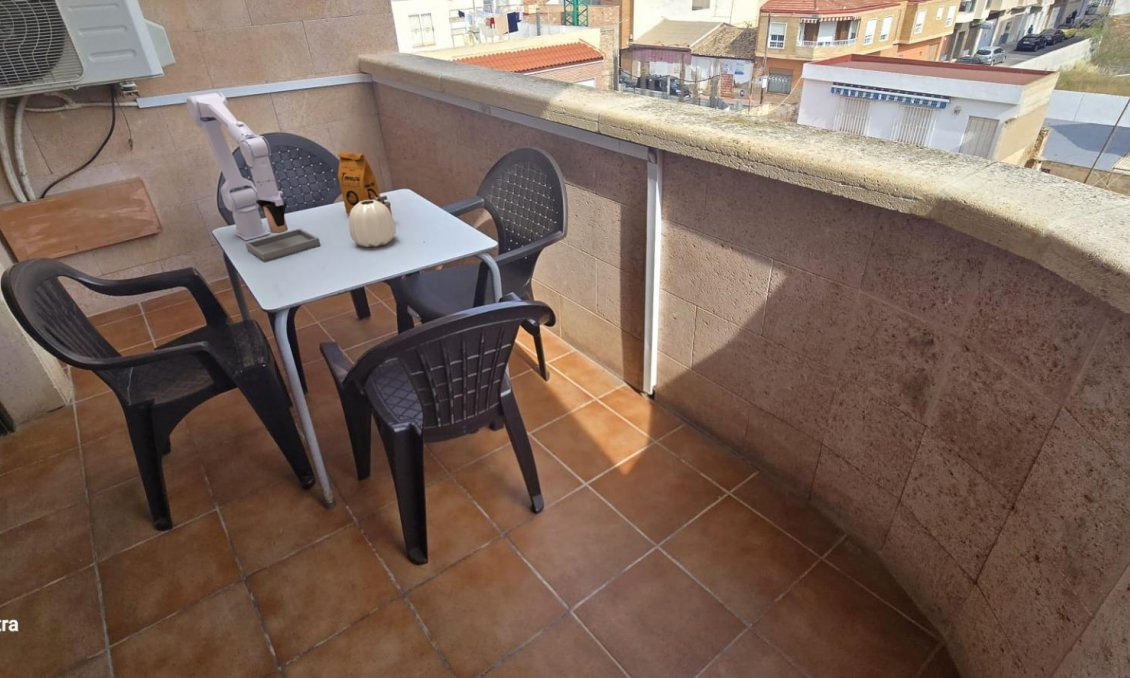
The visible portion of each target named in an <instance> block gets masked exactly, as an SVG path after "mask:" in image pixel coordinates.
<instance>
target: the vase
mask: <svg viewBox="0 0 1130 678" xmlns="http://www.w3.org/2000/svg"><path fill="white" fill-rule="evenodd" d="M348 228H349V229H348V231H349V235H350V238H351V240H352V241H354V242H355V243H356V244H358V245H359V246H361V247H366V248H371V247H376V248H377V247H379V246H386V244H387V243H390V242H391V241H392V240H393V238H394V237H395V235H396V232H397V231H396V224H395V220H394V217H393V214H392V215H391V213H390V211H389V209H388V208H387V207H386V206H385V205H384V204H382V203H380V202H378V201H376V200H364V201H361V202H359V203H358V204H356V205H355V206H354V207H353V208H352V209H351V212H350V214H349V216H348Z"/></svg>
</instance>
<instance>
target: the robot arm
mask: <svg viewBox="0 0 1130 678" xmlns="http://www.w3.org/2000/svg"><path fill="white" fill-rule="evenodd" d="M185 102H186V108H187V111H188V112H189V114H190V117H191V120H192V122H193V123H194V126H196V127H198V128H201V129H202V131H203V133H204V135H205V137H206V139H207V141H208V144H209V146H210V149H211V150H212V153H213V156H214V157H215V159H216V163H217V164H218V167H219V169H220V171H221V173H222V175H223V177H224V179H225V181H224V183H223V184H222V186H221V188H220V194H221V197H222V201H223V205H224V206H225V208H226V209H227V210H228V211H229V212H232V219H233V221H234V224H235V226H236V232H235V233H234V235H236V236H238V237H239V238H241V239H243V240H244V241H250V240H253V239H256V238H257V239H258V238H262V237H264V236H267V235H270V234H271V232H269V231H268V230H265V228H264V225H263V221H262V218H261V215H260V211H259V208H260V209H261V210H262V211H263V213H264V214H265V212H264V208H263V206H264V205H265V207H266V208H267V209H268V210H269V212H270V213H271V215H272V217H273V219H274V221H275V223H276V225H277V226H278V227H279V226H283V225H285V221H286V217H285V212H286V207H287V202H285V201H283V199H282V197H281V196H282V195H284V192H283V191H282V190H279V189H278V185H277V182H276V179H275V175H274V170H273V168H272V165H271V161H270V157H271V154H272V153H271V151H272V150H271V147H270V143H269V142H268V140H267V138H265V137H264V136H263V135H259V134H255V132H253V130H252V129H251V128H249V126H248V125H247V124H246V123H245V122H243V121H239V120H238V119H237V118H236V117H235V115H233V113H232V112H231V111H230V106H229V103H228V100H227V98H226V96H225V95H224V94H223V93H221V92H220V91H218V92H214V93H206V94H199V95H198V94H197V95H187V97H186V100H185ZM222 125H223V127H225V128H226V129H227V130H226V131H227V134H228V136H229V137H230V138H231V139H232V140H233V142H234V143H236V145H237V146H238V147H239V148H240V152H241V155H242V156H243V158H244V160H245V163H246V165H247V166H248V167H249V169H250V173H251V176H252V180H253V181H251V180H249V179H247V178H245V177H243V176H242V174H241V172H240V169H239V166H238V165H237V162H236V159H235V158H234V155H233V152H232V151H231V149H230V145H229V144H228V142H227V140H226V137H225V135H224V132H223V130H222V128H221V127H222ZM271 203H272V204H271ZM267 204H268V205H267ZM284 217H285V218H284Z"/></svg>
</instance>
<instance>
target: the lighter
mask: <svg viewBox="0 0 1130 678" xmlns="http://www.w3.org/2000/svg"><path fill="white" fill-rule="evenodd" d="M374 200H376V201H378V202H380V203H382V204H384V205H385V206H386V207H387V208H388V209H389V211H390V213H391V215H392V216H393V214H392V208H391V201H388V196H387V195H382V196H380V198H377V197H375V199H374ZM386 200H387V201H386Z"/></svg>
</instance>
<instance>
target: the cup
mask: <svg viewBox="0 0 1130 678" xmlns="http://www.w3.org/2000/svg"><path fill="white" fill-rule="evenodd" d="M271 204H272V203H271ZM267 205H268V204H267ZM263 208H264V211H263V213H264V212H265V213H264V215H265V217H266V222H267V224H268V228H269V231H270V234H281V233H285V232H288V230H289V228H288V224H287V222H286V220H285V225H283V226H279V227H278V226H277V225H276V223H275V221H274V219H273V217H272V215H271V213H270V212H269V210H268V209H267V208H266V207H265V205H264V206H263ZM284 218H285V219H286V217H285V216H284Z"/></svg>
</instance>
